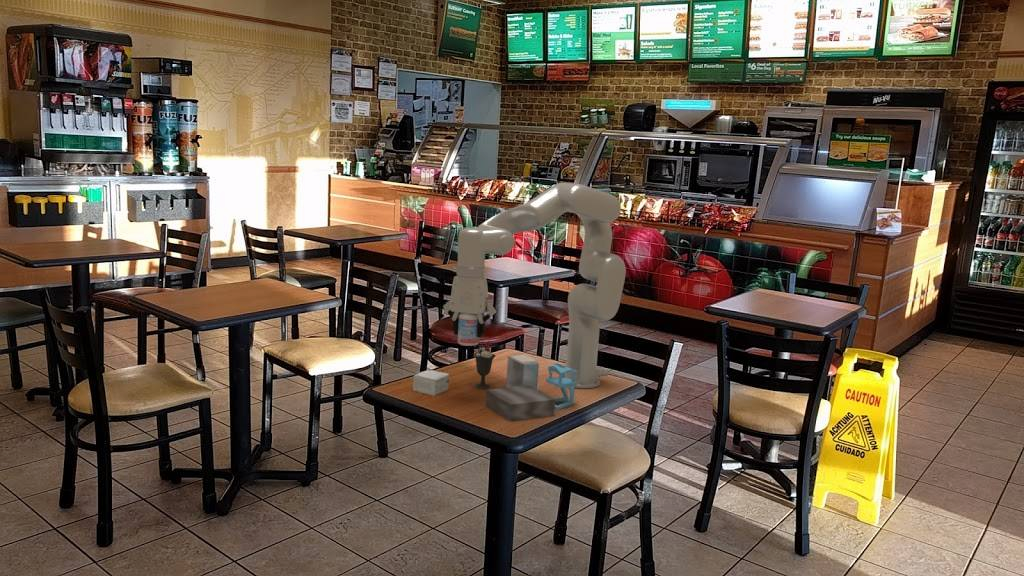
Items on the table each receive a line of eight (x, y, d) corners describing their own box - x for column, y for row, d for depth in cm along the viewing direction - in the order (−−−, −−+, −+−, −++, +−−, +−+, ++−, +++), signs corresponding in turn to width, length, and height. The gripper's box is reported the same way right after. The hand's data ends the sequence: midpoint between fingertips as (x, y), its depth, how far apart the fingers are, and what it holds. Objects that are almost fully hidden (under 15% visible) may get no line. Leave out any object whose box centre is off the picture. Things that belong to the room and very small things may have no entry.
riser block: (528, 401, 228) (529, 385, 227) (553, 416, 216) (555, 399, 215) (485, 406, 221) (486, 389, 220) (509, 422, 209) (510, 404, 208)
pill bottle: (460, 346, 218) (461, 307, 216) (455, 341, 223) (456, 302, 221) (481, 346, 219) (482, 307, 217) (476, 340, 225) (477, 302, 223)
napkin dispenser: (520, 386, 241) (522, 353, 239) (536, 395, 232) (539, 361, 231) (505, 387, 238) (507, 354, 237) (521, 397, 230) (523, 363, 228)
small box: (434, 396, 226) (435, 379, 226) (412, 391, 230) (413, 374, 229) (449, 390, 233) (449, 373, 232) (427, 385, 237) (428, 369, 236)
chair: (579, 406, 225) (582, 366, 223) (556, 409, 220) (559, 368, 218) (563, 398, 231) (566, 359, 229) (540, 402, 227) (543, 362, 225)
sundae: (491, 391, 234) (493, 342, 232) (469, 388, 235) (471, 340, 233) (495, 385, 240) (498, 337, 238) (474, 382, 242) (477, 335, 239)
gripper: (437, 271, 217) (435, 334, 220) (496, 277, 212) (493, 341, 215) (446, 268, 224) (444, 329, 227) (504, 273, 219) (501, 335, 222)
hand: (468, 334), depth 221 cm, fingers closed on pill bottle, 6 cm apart
